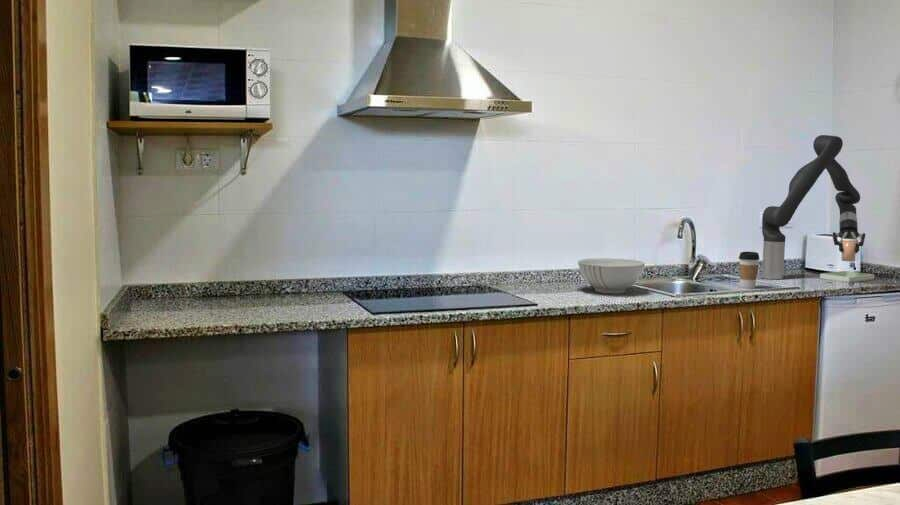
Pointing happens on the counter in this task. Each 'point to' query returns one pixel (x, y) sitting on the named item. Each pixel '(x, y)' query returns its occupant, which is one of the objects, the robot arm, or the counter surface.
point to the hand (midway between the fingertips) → (849, 251)
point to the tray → (847, 276)
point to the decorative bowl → (611, 273)
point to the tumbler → (849, 250)
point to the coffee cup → (748, 269)
